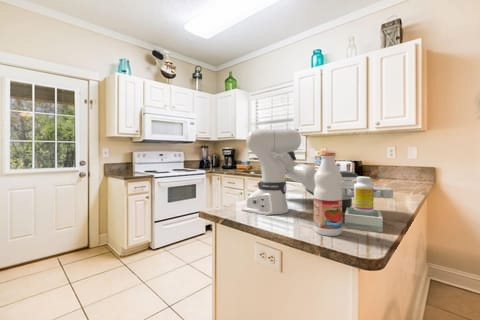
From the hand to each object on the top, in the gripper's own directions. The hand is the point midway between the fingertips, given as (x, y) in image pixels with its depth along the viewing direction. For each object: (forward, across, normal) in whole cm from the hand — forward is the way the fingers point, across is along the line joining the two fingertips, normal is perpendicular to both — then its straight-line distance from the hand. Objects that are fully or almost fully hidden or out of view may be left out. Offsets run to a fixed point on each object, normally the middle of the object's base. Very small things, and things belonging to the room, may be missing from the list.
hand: (363, 194), depth 88 cm
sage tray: (-1, 0, -12) cm, 12 cm away
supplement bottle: (-1, 0, -7) cm, 7 cm away
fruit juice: (+13, +11, -12) cm, 21 cm away
